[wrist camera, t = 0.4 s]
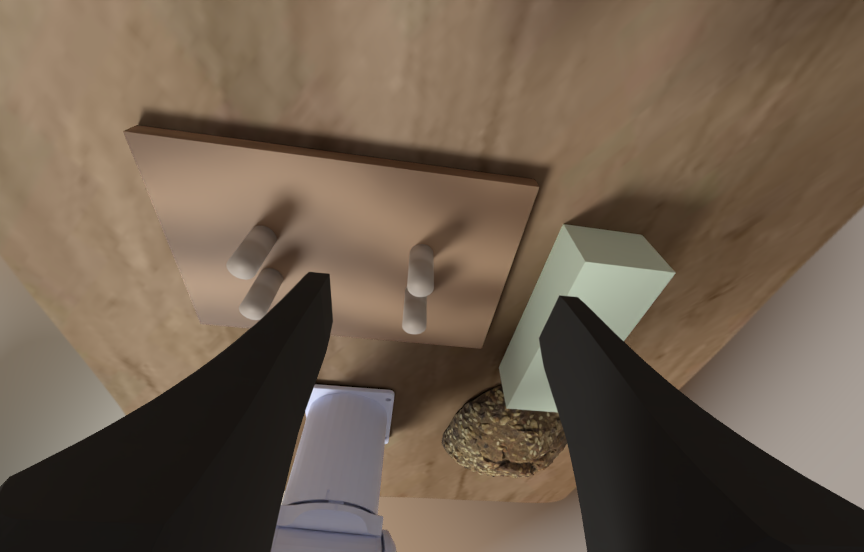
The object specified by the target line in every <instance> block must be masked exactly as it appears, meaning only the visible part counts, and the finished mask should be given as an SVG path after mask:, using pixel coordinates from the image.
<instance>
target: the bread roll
mask: <svg viewBox="0 0 864 552" xmlns="http://www.w3.org/2000/svg"><path fill="white" fill-rule="evenodd" d="M566 444H567V440H566V437H565V433H564V430H563V427H562V424H561V420H560V417H559V414H558V412H546V411H533V410H520V409H506V403H505V398H504V393H503V387H502V385H501V386H498V387H496V388H494V389H491V390H489V391H488V392H486V393H484V394H482V395H481V396H479V397H478V398H476V399H475V400H473V401H470V402H468V403H467V404H465V406H464V407H463V408H462V409H461V410H460V411H459V412H458V413H457V414H456V415H455V416H454V418H453V420H452V422H451V424H450V425H449V427H448V428H447V430H446V431H445V432H444V434H443V438H442V445H443V447H444V448H445V450H446V451H447V453H448V454H449V455H450V457H452V458H453V459H454V460H455V461H456V462H457V463H458V464H461V465H462V466H464V467H465V468H467V469H470V470H472V471H473V472H475V471H477V472H478V473H479V474H486V475H491V476H493V477H494V476H507V477H509V476H511V477H512V478H518V477H529V476H530V475H534V474H535V473H536V472H538V471H540V470H544V469H545V468H547V467H548V466H549V465H550V464H551V463H553V460H554V459H555V458H556V457H557V456H558V455H559V453H560V452H561V451H562V450H563V449H564V447H565V445H566ZM533 473H534V474H533Z"/></svg>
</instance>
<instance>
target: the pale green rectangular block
mask: <svg viewBox="0 0 864 552" xmlns="http://www.w3.org/2000/svg"><path fill="white" fill-rule="evenodd" d="M675 273H676V272H675V271H674V270H673V269H672V268H671V267H670V266H669V265H668V263H667V262H666V261H665V260H664V259H663V258H662V257H661V256H660V255H659V253H658V252H657V251H656V250H655V249H654V248H653V247H652V246H651V244H650V243H649V242H648V241H647V240H646V239H645V238H644V237H643V235H640V234H632V233H625V232H618V231H610V230H603V229H596V228H588V227H581V226H574V225H566V224H563V226H562V228H561V230H560V232H559V234H558V237H557V239H556V241H555V243H554V246H553V248H552V250H551V252H550V255H549V257H548V259H547V261H546V263H545V266H544V268H543V270H542V272H541V275H540V277H539V279H538V281H537V284H536V286H535V288H534V290H533V292H532V295H531V297H530V299H529V301H528V304H527V306H526V308H525V310H524V312H523V315H522V317H521V319H520V321H519V324H518V326H517V328H516V330H515V333H514V335H513V337H512V339H511V341H510V344H509V346H508V348H507V350H506V353H505V355H504V357H503V359H502V361H501V364H500V366H499V372H500V377H501V382H502V387H503V393H504V398H505V403H506V409H520V410H533V411H546V412H558V411H557V408H556V405H555V402H554V399H553V395H552V392H551V389H550V386H549V383H548V380H547V376H546V373H545V370H544V366H543V361H542V355H541V349H540V343H539V337H540V335H541V332H542V330H543V328H544V326H545V324H546V322H547V320H548V318H549V316H550V314H551V312H552V310H553V307H554V305H555V303H556V301H557V299H558V297H559V295H561V296H572V297H578V298H579V299H580V300H582V301H583V302H584V303H585V304H586V305H587V306H588V307H589V308H590V309H591V310H592V311H593V312H594V313H595V314H596V315H597V316H598V317H599V318H600V319H601V320H602V321H603V322H604V323H605V324H606V325H607V326H608V327H609V328H610V329H611V330H612V331H613V332H614V333H615V334H616V335H617V336H618V337H620V338H621V339H622V340H623V341H624V340H625V339H626V338H627V336H628V335H629V334H630V332H631V331H632V330H633V328H634V327H635V326H636V325H637V323H638V322H639V321H640V319H641V318H642V317H643V315H644V314H645V313H646V311H647V310H648V309H649V307H650V306H651V305H652V303H653V302H654V301H655V300H656V298H657V297H658V296H659V294H660V293H661V292H662V290H663V289H664V288H665V286H666V285H667V284H668V282H669V281H670V280H671V279H672V277H673V276H674V275H675Z"/></svg>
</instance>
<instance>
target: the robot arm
mask: <svg viewBox="0 0 864 552" xmlns="http://www.w3.org/2000/svg"><path fill="white" fill-rule="evenodd" d="M332 324H333V313H332V299H331V285H330V274H328V273H317V272H308V273H307V274H306V275H305V276H304V277H303V278H302V279H301V280H300V281H299V282H298V283H297V284H296V285H295V286H294V287H293V288H292V289H291V290H290V291H289V292H288V293H287V294H286V295H285V296H284V297H283V298H282V299H281V300H280V301H279V302H278V303H277V304H276V305H275V306H274V307H273V308H272V309H271V310H270V311H269V312H268V313H267V314H266V315H265V316H264V317H263V318H261V319H260V320H259V321H258V322H257V323H256V324H255V325H254V326H252V327H251V328H250V329H249V330H248V331H247V332H245V333H244V334H243V335H242V336H241V337H240V338H239V339H237V340H236V341H235V342H234V343H233V344H231V345H230V346H229V347H228V348H226V349H225V350H224V351H223V352H221V353H220V354H219V355H217V356H216V357H215V358H213V359H212V360H211V361H209V362H208V363H207V364H205V365H204V366H203V367H201V368H200V369H198V370H197V371H196V372H194V373H193V374H191V375H190V376H188V377H187V378H185V379H184V380H182V381H181V382H179V383H178V384H176V385H175V386H173V387H172V388H170V389H169V390H167V391H166V392H164V393H163V394H161V395H160V396H158V397H157V398H155V399H153V400H152V401H150V402H148V403H147V404H145V405H143V406H142V407H140V408H138V409H137V410H135V411H133V412H131V413H130V414H128V415H126V416H125V417H123V418H121V419H120V420H118V421H116V422H115V423H112V424H111V425H109V426H107V427H105V428H104V429H102V430H100V431H98V432H96V433H95V434H93V435H91V436H89V437H87V438H85V439H84V440H82V441H80V442H78V443H76V444H74V445H72V446H70V447H68V448H66V449H64V450H62V451H60V452H58V453H56V454H55V455H52V456H50V457H48V458H46V459H44V460H42V461H41V462H39V463H37V464H35V465H33V466H31V467H29V468H27V469H25V470H23V471H21V472H19V473H17V474H15V475H13V476H10V477H9V478H8V479H7V480H6V481H5V482H4V483H3V484H2V485H1V486H0V552H396V547H395V543H394V541H393V540H392V538H391V535H390V533H389V531H387V530H382V524H383V516H379V515H378V505H379V495H380V485H381V475H382V465H383V455H384V445H385V444H387V443H388V441H389V433H390V425H391V418H392V410H393V402H394V392H393V391H392V390H385V389H371V388H358V387H345V386H332V385H318V384H315V382H316V379H317V377H318V374H319V371H320V368H321V365H322V362H323V360H324V357H325V354H326V351H327V347H328V342H329V338H330V333H331V329H332ZM539 343H540V349H541V355H542V361H543V366H544V370H545V373H546V376H547V380H548V383H549V386H550V389H551V392H552V395H553V399H554V402H555V405H556V408H557V411H558V414H559V417H560V420H561V424H562V427H563V430H564V433H565V437H566V440H567V444H568V448H569V452H570V457H571V462H572V466H573V471H574V476H575V481H576V486H577V491H578V497H579V502H580V508H581V513H582V519H583V526H584V532H585V539H586V546H587V552H864V510H863V509H862V508H860V507H858V506H856V505H854V504H853V503H851V502H849V501H847V500H845V499H844V498H842V497H840V496H838V495H837V494H835V493H833V492H831V491H830V490H828V489H826V488H824V487H823V486H821V485H819V484H817V483H816V482H814V481H812V480H810V479H808V478H807V477H805V476H803V475H802V474H800V473H798V472H797V471H795V470H793V469H792V468H790V467H789V466H787V465H785V464H784V463H782V462H781V461H779V460H777V459H776V458H774V457H772V456H771V455H769V454H768V453H766V452H764V451H763V450H761V449H760V448H758V447H757V446H755V445H754V444H752V443H751V442H749V441H748V440H746V439H745V438H743V437H742V436H740V435H739V434H737V433H736V432H734V431H733V430H731V429H730V428H729V427H727V426H726V425H724V424H723V423H721V422H720V421H719V420H717V419H716V418H714V417H713V416H712V415H710V414H709V413H708V412H706V411H705V410H703V409H702V408H701V407H699V406H698V405H697V404H695V403H694V402H693V401H692V400H690V399H689V398H688V397H687V396H685V395H684V394H683V393H681V392H680V391H679V390H678V389H676V388H675V387H674V386H673V385H672V384H670V383H669V382H668V381H667V380H665V379H664V378H663V377H662V376H661V375H660V374H659V373H657V372H656V371H655V370H654V369H653V368H652V367H651V366H650V365H648V364H647V363H646V362H645V361H644V360H643V359H642V358H641V357H640V356H638V355H637V354H636V353H635V352H634V351H633V350H632V349H631V348H630V347H629V346H628V345H627V344H626V343H625V342H624V341H623V340H622V339H621V338H620V337H618V336H617V335H616V334H615V333H614V332H613V331H612V330H611V329H610V328H609V327H608V326H607V325H606V324H605V323H604V322H603V321H602V320H601V319H600V318H599V317H598V316H597V315H596V314H595V313H594V312H593V311H592V310H591V309H590V308H589V307H588V306H587V305H586V304H585V303H584V302H583V301H582V300H580V299H579V298H578V297H572V296H561V295H559V297H558V299H557V301H556V303H555V305H554V307H553V310H552V312H551V314H550V316H549V318H548V320H547V322H546V324H545V326H544V328H543V330H542V332H541V335H540V337H539ZM305 412H306V418H307V419H306V422H305V426H304V429H303V433H302V436H301V440H300V443H299V446H298V450H297V453H296V457H295V460H294V464H293V467H292V470H291V474H290V477H289V481H288V484H287V488H286V491H285V495H284V498H283V501H282V497H283V493H284V489H285V485H286V481H287V477H288V472H289V468H290V464H291V460H292V456H293V452H294V448H295V444H296V440H297V436H298V432H299V429H300V426H301V422H302V419H303V416H304V413H305ZM281 502H282V505H281Z"/></svg>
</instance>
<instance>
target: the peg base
mask: <svg viewBox="0 0 864 552" xmlns="http://www.w3.org/2000/svg"><path fill="white" fill-rule="evenodd" d="M123 133H124V135H125V138H126V140H127V143H128V145H129V148H130V150H131V153H132V155H133V157H134V160H135V162H136V165H137V167H138V170H139V172H140V175H141V177H142V180H143V182H144V185H145V187H146V190H147V192H148V195H149V197H150V200H151V202H152V205H153V207H154V210H155V212H156V215H157V217H158V219H159V222H160V224H161V227H162V229H163V232H164V234H165V237H166V239H167V242H168V244H169V247H170V249H171V252H172V254H173V257H174V259H175V262H176V264H177V267H178V269H179V272H180V274H181V277H182V279H183V282H184V284H185V286H186V289H187V291H188V294H189V296H190V299H191V301H192V304H193V306H194V309H195V311H196V314H197V316H198V319H199V321H200V324H207V325H218V326H230V327H241V328H251V327H252V326H254V325H255V324H256V323H257V322H258V321H259V320H260V319H261V318H263V317H264V316H265V315H266V314H267V313H268V312H269V311H270V310H271V309H272V308H273V307H274V306H275V305H276V304H277V303H278V302H279V301H280V300H281V299H282V298H283V297H284V296H285V295H286V294H287V293H288V292H289V291H290V290H291V289H292V288H293V287H294V286H295V285H296V284H297V283H298V282H299V281H300V280H301V279H302V278H303V277H304V276H305V275H306V274H307V273H308V272H317V273H328V274H330V285H331V299H332V313H333V324H332V329H331V333H330V335H332V336H343V337H354V338H366V339H377V340H388V341H400V342H411V343H422V344H434V345H445V346H457V347H468V348H479V349H482V346H483V344H484V341H485V338H486V335H487V332H488V330H489V327H490V324H491V321H492V318H493V316H494V313H495V310H496V307H497V304H498V302H499V299H500V296H501V293H502V290H503V288H504V285H505V282H506V279H507V276H508V274H509V271H510V268H511V265H512V262H513V260H514V257H515V254H516V251H517V248H518V246H519V243H520V240H521V237H522V234H523V232H524V229H525V226H526V223H527V220H528V218H529V215H530V212H531V209H532V206H533V204H534V201H535V198H536V195H537V192H538V190H539V186H538V184H537V182H536V180H535V179H530V178H522V177H515V176H508V175H500V174H493V173H486V172H478V171H471V170H464V169H456V168H449V167H442V166H434V165H427V164H419V163H412V162H405V161H397V160H390V159H383V158H375V157H368V156H361V155H353V154H346V153H339V152H331V151H324V150H317V149H309V148H302V147H294V146H287V145H280V144H272V143H265V142H258V141H250V140H243V139H236V138H228V137H221V136H214V135H206V134H199V133H192V132H184V131H177V130H169V129H162V128H155V127H147V126H140V125H136V126H134V127H132V128H130V129H127V130H125V131H123Z"/></svg>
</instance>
